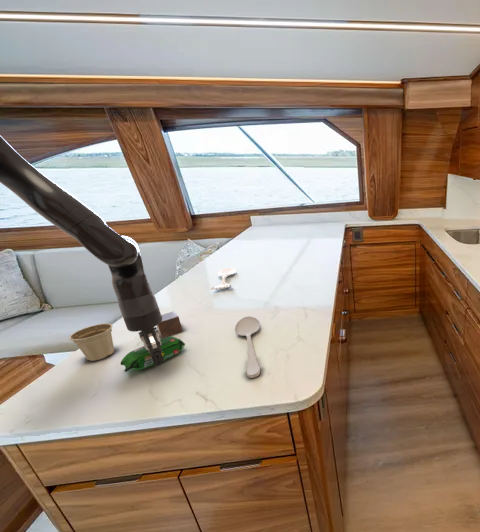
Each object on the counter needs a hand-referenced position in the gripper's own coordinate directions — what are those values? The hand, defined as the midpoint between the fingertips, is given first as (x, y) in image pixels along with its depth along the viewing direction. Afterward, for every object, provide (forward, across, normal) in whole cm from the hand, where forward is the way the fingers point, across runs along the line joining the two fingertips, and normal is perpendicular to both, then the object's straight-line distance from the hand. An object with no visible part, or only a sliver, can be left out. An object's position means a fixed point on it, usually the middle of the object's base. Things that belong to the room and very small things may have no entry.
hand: (159, 363), depth 85 cm
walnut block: (+2, -23, +7) cm, 24 cm away
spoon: (+2, +8, +22) cm, 24 cm away
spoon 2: (+2, -61, +37) cm, 71 cm away
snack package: (+2, -6, 0) cm, 6 cm away
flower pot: (+2, -23, -11) cm, 26 cm away
